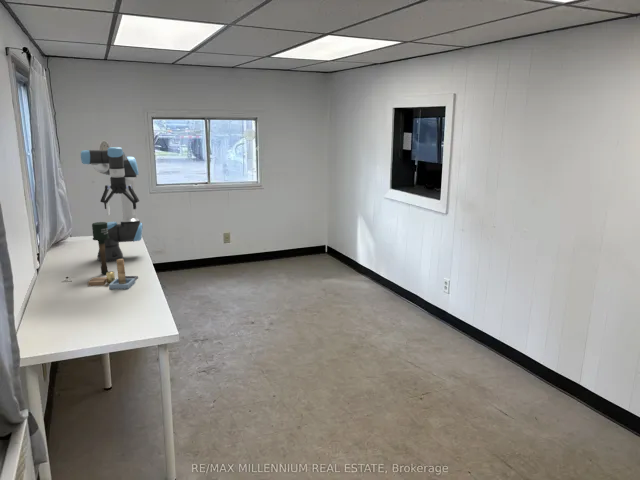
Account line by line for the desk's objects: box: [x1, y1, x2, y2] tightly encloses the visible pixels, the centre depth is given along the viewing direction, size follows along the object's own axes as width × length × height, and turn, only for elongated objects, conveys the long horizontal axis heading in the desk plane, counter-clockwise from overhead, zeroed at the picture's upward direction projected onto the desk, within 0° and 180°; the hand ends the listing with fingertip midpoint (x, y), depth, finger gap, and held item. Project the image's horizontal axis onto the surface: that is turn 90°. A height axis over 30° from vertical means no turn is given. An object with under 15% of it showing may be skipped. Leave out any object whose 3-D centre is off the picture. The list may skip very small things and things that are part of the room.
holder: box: [125, 275, 139, 281], centre depth 265 cm, size 7×7×1 cm
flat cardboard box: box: [87, 276, 107, 287], centre depth 259 cm, size 8×8×2 cm
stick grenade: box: [91, 221, 109, 276], centre depth 271 cm, size 8×9×30 cm
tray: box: [108, 278, 136, 290], centre depth 255 cm, size 10×10×2 cm
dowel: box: [116, 258, 126, 284], centre depth 253 cm, size 4×4×14 cm
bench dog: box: [105, 270, 116, 285], centre depth 259 cm, size 4×4×6 cm
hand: (121, 214), depth 263 cm, fingers open, 13 cm apart
